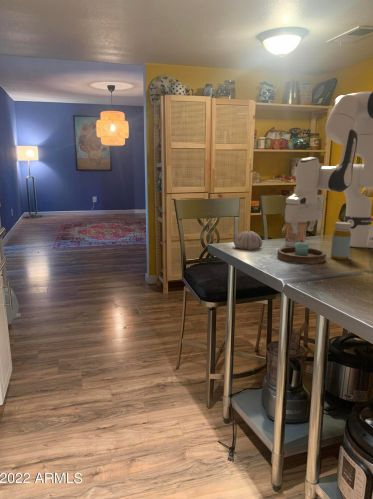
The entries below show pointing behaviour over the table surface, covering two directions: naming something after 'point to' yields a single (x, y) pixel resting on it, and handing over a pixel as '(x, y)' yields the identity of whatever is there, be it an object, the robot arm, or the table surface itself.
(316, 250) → the round tray
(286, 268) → the table surface
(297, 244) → the bead
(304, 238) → the fruit juice
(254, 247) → the sea urchin shell
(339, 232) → the bottle
